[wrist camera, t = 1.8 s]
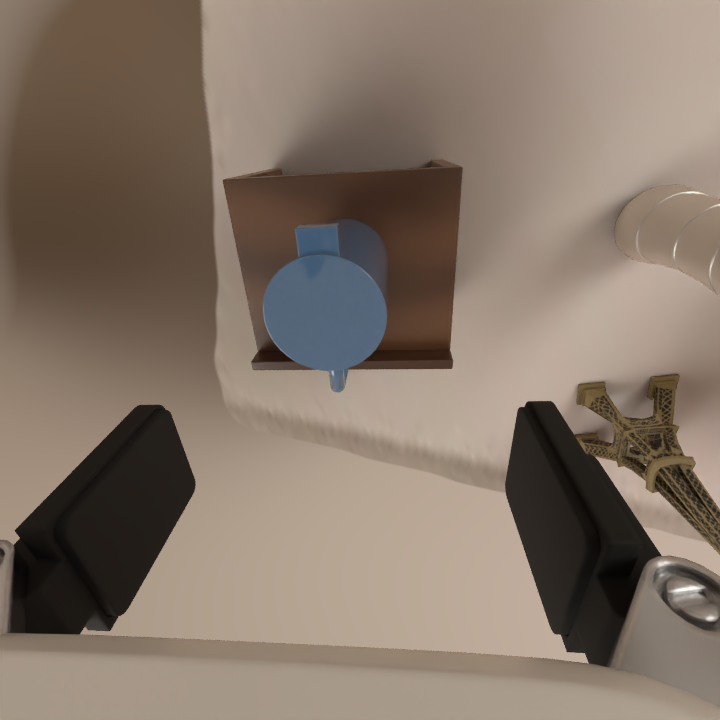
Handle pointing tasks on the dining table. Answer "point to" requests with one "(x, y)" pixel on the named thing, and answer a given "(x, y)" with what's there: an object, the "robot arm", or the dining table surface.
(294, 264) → the jug
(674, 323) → the dining table surface
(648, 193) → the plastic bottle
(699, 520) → the eiffel tower
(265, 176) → the shelf stand
